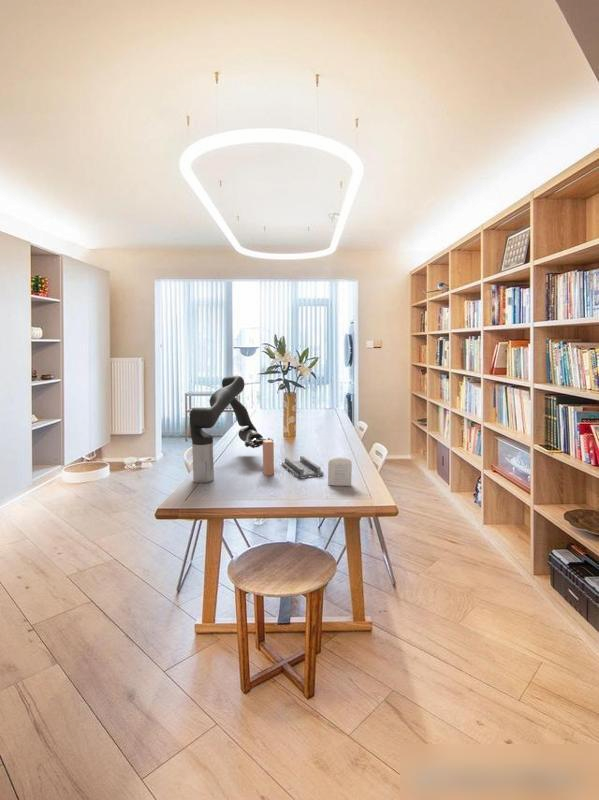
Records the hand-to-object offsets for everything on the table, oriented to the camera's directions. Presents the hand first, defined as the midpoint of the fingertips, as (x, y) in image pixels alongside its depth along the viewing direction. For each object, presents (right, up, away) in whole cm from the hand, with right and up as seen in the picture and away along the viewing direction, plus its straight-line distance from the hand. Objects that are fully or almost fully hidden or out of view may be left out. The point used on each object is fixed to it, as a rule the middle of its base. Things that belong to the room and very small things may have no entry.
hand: (262, 445), depth 209 cm
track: (+20, -12, -4) cm, 23 cm away
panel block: (+4, -13, -9) cm, 16 cm away
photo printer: (+36, -15, -26) cm, 47 cm away
